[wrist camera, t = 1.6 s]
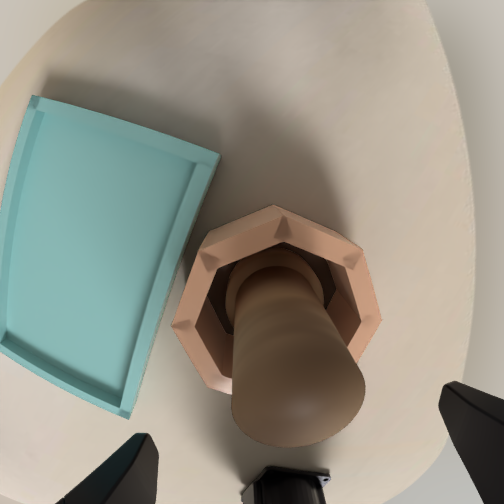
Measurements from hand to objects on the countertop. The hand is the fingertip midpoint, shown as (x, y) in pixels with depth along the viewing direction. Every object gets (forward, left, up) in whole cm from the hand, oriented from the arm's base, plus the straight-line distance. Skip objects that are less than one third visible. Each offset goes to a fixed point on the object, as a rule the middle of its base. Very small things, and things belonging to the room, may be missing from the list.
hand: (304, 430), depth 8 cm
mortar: (0, 0, -11) cm, 11 cm away
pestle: (0, 0, -11) cm, 11 cm away
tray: (+12, +3, -11) cm, 16 cm away
